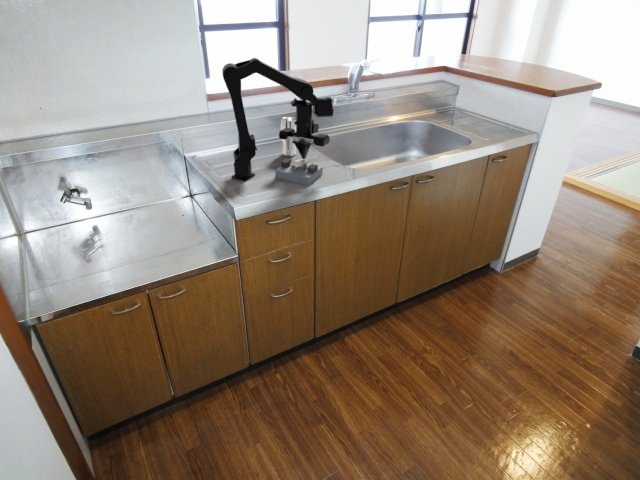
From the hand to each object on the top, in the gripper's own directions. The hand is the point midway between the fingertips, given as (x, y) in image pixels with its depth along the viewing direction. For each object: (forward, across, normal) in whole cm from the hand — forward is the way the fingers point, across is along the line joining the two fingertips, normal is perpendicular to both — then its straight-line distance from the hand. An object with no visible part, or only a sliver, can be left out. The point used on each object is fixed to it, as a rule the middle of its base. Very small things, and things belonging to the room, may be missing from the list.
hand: (304, 158), depth 162 cm
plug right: (+3, -6, +4) cm, 7 cm away
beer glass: (+6, +15, -15) cm, 22 cm away
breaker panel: (+6, 0, +4) cm, 7 cm away
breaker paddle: (0, 0, +4) cm, 4 cm away
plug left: (+3, +6, +4) cm, 7 cm away
